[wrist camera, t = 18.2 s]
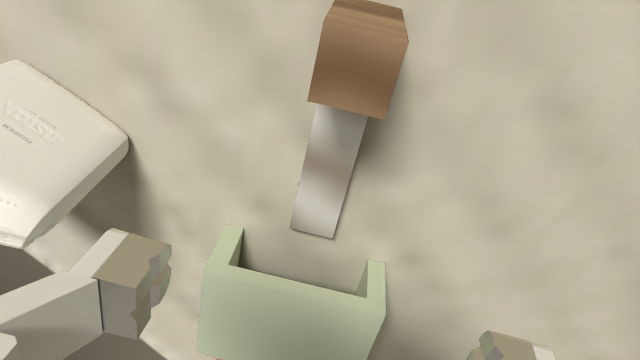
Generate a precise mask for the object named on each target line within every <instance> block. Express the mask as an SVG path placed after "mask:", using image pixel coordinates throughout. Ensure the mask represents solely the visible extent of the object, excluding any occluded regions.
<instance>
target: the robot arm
mask: <svg viewBox="0 0 640 360" xmlns="http://www.w3.org/2000/svg"><path fill="white" fill-rule="evenodd" d="M170 257H171V245H169V244H166V243H163V242H160V241H156V240H153V239H150V238H146V237H143V236H140V235H136V234H133V233H128V232H125V231H122V230H118V229H115V228H112V229H110V230H108V231H106V232H105V233H104V234H103V236H102V237H101V238H100V239H99V240H98V241H97V242H96V243H95V244H94V245H93V246H92V248H91V249H90V250H89V251H88V252H87V253H86V254H85V255H84V256H83V257H82V258H81V260H80V261H79V262H78V263H77V264H76V265H75V266H74V267H73V268H72V269H71V271H70V272H68V271H64V270H63V271H61V272H58V273H56V274H53V275H51V276H48V277H46V278H43V279H41V280H38V281H36V282H33V283H31V284H28V285H26V286H23V287H21V288H18V289H16V290H13V291H11V292H8V293H6V294H3V295H1V296H0V360H62V359H64V358H65V357H67V356H68V355H70V354H71V353H73V352H74V351H76V350H78V349H79V348H81V347H82V346H84V345H86V344H87V343H89V342H90V341H92V340H93V339H95V338H96V337H98V336H99V335H101V334H102V333H103V332H107V333H112V334H116V335H119V336H124V337H128V338H132V339H136V340H137V339H138V338H139V336H140V334H141V333H142V331H143V329H144V328H145V326H146V325H147V323H148V321H149V320H150V318H151V308H152V307H154V306H156V305H158V304H159V303H160V302H161V300H162V298H163V296H164V295H165V292H166V290H167V287H168V285H169V281H170V276H171V267H170V266H169V265H168V263H167V262H168V260H169V259H170ZM479 341H480V347H478V348H476V349H473V350H472V351H471V353H470V354H469V356H468V358H467V360H555V357H554V355H553V352H552V350H551V349H550V348H549V346H545V345H542V344H538V343H534V342H530V341H526V340H523V339H519V338H515V337H511V336H508V335H504V334H500V333H496V332H492V331H486V332H484V333H483V334H482V336H481V337H480V339H479Z"/></svg>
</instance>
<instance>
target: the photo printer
mask: <svg viewBox="0 0 640 360" xmlns="http://www.w3.org/2000/svg"><path fill="white" fill-rule="evenodd" d="M128 149H129V142H128V136H127V135H126V134H125V133H124V132H123V131H122V130H121V129H120V128H119V127H117V126H116V125H115V124H113V123H112V122H111V121H109V120H108V119H107V118H105V117H104V116H103V115H101V114H100V113H98V112H97V111H96V110H94V109H93V108H92V107H90V106H89V105H87V104H86V103H84V102H83V101H82V100H80V99H79V98H77V97H76V96H74V95H73V94H71V93H70V92H69V91H67V90H66V89H64V88H63V87H61V86H60V85H58V84H57V83H55V82H54V81H52V80H51V79H49V78H48V77H46V76H45V75H43V74H42V73H40V72H39V71H37V70H35V69H34V68H32V67H31V66H29V65H27V64H25V63H23V62H21V61H19V60H12V61H9V62H6V63H4V64H1V65H0V244H1V245H5V246H9V247H14V248H19V249H23V248H25V247H27V246H28V245H29V244H30V243H32V242H33V241H34V240H35V239H36V238H39V237H41V236H43V235H44V234H46V233H47V232H48V231H50V230H51V229H52V228H53V227H54V226H55V225H56V224H58V223H59V222H60V221H61V220H62V219H63V218H64V217H65V216H66V215H67V214H68V213H69V212H70V211H71V210H72V209H73V208H74V207H75V206H76V205H77V204H78V203H79V202H80V201H81V200H82V199H83V198H84V197H85V196H86V195H87V194H88V193H89V192H90V191H91V190H92V189H93V188H94V187H95V186H96V185H97V184H98V183H99V182H100V181H101V180H102V179H103V178H104V177H105V176H106V175H107V174H108V173H109V172H110V171H111V170H112V169H113V168H114V167H115V166H116V165H117V164H118V163H119V162H120V161H121V160H122V159H123V158H124V157H125V156H126V154H127V152H128Z"/></svg>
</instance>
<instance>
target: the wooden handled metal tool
mask: <svg viewBox="0 0 640 360" xmlns="http://www.w3.org/2000/svg"><path fill="white" fill-rule="evenodd" d="M408 43H409V40H408V36H407V31H406V26H405V22H404V17H403V12H402V9H400V8H396V7H392V6H388V5H384V4H379V3H375V2H371V1H367V0H335V1H334V3H333V4H332V6H331V8H330V10H329V12H328V14H327V16H326V18H325V20H324V23H323V27H322V32H321V37H320V42H319V47H318V52H317V57H316V61H315V66H314V71H313V76H312V81H311V86H310V90H309V95H308V100H307V101H309V102H313V103H317V105H316V110H315V114H314V119H313V123H312V128H311V132H310V137H309V141H308V146H307V150H306V155H305V160H304V164H303V169H302V173H301V178H300V182H299V187H298V191H297V196H296V200H295V205H294V210H293V214H292V219H291V223H290V229H294V230H299V231H303V232H307V233H311V234H315V235H319V236H323V237H327V238H333V235H334V232H335V228H336V225H337V221H338V218H339V215H340V211H341V208H342V204H343V201H344V198H345V194H346V191H347V187H348V184H349V181H350V177H351V174H352V170H353V167H354V164H355V160H356V157H357V153H358V150H359V146H360V143H361V140H362V136H363V133H364V129H365V126H366V123H367V119H368V116H370V117H375V118H379V119H383V120H384V118H385V115H386V112H387V109H388V106H389V103H390V99H391V96H392V93H393V90H394V87H395V84H396V81H397V77H398V74H399V71H400V68H401V65H402V62H403V58H404V55H405V52H406V49H407V46H408Z"/></svg>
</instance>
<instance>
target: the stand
mask: <svg viewBox="0 0 640 360" xmlns="http://www.w3.org/2000/svg"><path fill="white" fill-rule="evenodd" d="M242 236H243V228H239V227H235V226H231V225H226V227H225V229H224V231H223V233H222V235H221V237H220V239H219V241H218V243H217V245H216V247H215V249H214V251H213V253H212V255H211V257H210V259H209V261H208V263H207V265H206V267H205V269H204V272H203V283H202V293H201V304H200V315H199V325H198V336H197V347H196V353H199V354H203V355H207V356H211V357H215V358H219V359H224V360H366V359H367V357H368V355H369V353H370V350H371V348H372V346H373V343H374V341H375V339H376V337H377V334H378V332H379V330H380V328H381V325H382V323H383V321H384V319H385V316H386V281H385V263H382V262H378V261H374V260H370V259H368V261H367V264H366V267H365V270H364V272H363V275H362V278H361V280H360V283H359V286H358V288H357V291H356V294H355V295H351V294H347V293H342V292H338V291H334V290H330V289H326V288H322V287H318V286H314V285H310V284H305V283H301V282H297V281H293V280H289V279H285V278H281V277H277V276H273V275H269V274H264V273H260V272H256V271H252V270H248V269H244V268H240V267H238V262H239V256H240V249H241V243H242Z"/></svg>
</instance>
